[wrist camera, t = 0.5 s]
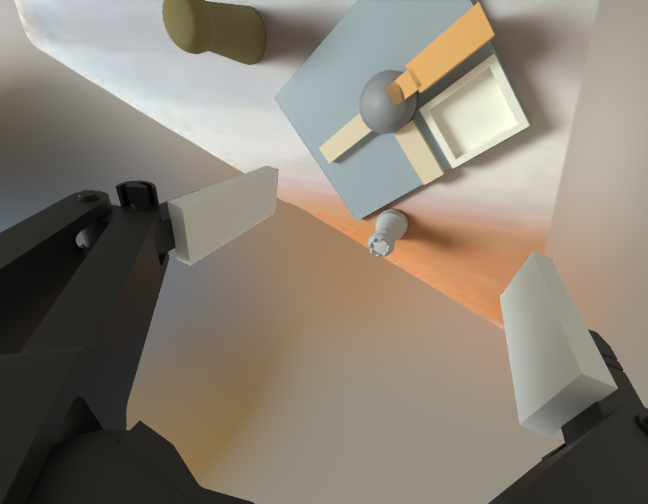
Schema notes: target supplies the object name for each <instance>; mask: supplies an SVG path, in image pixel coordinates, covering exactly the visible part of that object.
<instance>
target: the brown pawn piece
mask: <svg viewBox="0 0 648 504" xmlns="http://www.w3.org/2000/svg"><path fill="white" fill-rule="evenodd" d="M162 13H163V21H164V24H165V28H166V30H167V32H168V34H169V36H170V38H171V39H172V40H173V42H174V43H175V44H176V45H177V46H178V47H179V48H181V49H182V50H184V51H186V52H188V53H193V54H200V53H203V52H207V51H210V52H213V53H216V54H219V55H221V56H224V57H227V58H230V59H232V60H235V61H238V62H241V63H244V64H248V65H250V64H254V63H256V62H257V61H258V60H260V58H261V56H262V55H263V53H264V49H265V46H266V32H265V27H264V24H263V21H262V19H261V17H260V16H259V14H258V13H257V12H256V10H254V9H253V8H251V7H250V6H243V5H235V4H226V3H217V2H209V1H205V0H164V2H163V12H162Z"/></svg>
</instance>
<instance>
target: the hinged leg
mask: <svg viewBox="0 0 648 504" xmlns="http://www.w3.org/2000/svg"><path fill="white" fill-rule="evenodd" d="M494 35H495V34H494V32H493V30H492V28H491V26H490V24H489V22H488V20H487V18H486V16H485V14H484V12H483V9H482V7H481V5H480V3H479V2H477V3H476V4H475V5H474V6H473V7H472V8H471V9H469V10H468V11H467V12H466V13H465V14H464V15H463V16H461V17H460V18H459V19H458V20H457V21H456V22H455V23H453V24H452V25H451V26H450V27H449V28H448V29H447V30H445V31H444V32H443V33H442V34H441V35H440V36H439V37H437V38H436V39H435V40H434V41H433V42H432V43H431V44H429V45H428V46H427V47H426V48H425V49H424V50H423V51H421V52H420V53H419V54H418V55H417V56H416V57H415V58H413V59H412V60H411V61H410V62H409V63H408V64H407V65H405V67H406V68H407V70H406V71H405V72H404V73H403V74H402V75H401V76H399V77H398V78H397V79H396V80H391V79H381V80H378V81H376V82H374V83H373V84H371V85H370V86H369V87H368V89H367V90H366V92H365V94H364V96H363V100H362V111H363V115H364V117H365V119H366V120H367V121H368V122H369V123H370V124H371V125H373V126H375V127H378V128H384V127H388V126H390V125H392V124H394V123H396V122H397V121H398V120H399V119H400V118H401V117H402V115H403V114H404V112H405V109H406V105H407V99H408V98H409V97H410V96H412V95H413V94H414V93H415V92H417V91H418V90H419V92H420V93H423V92H424V91H426V90H427V89H428V88H430V87H431V86H432V85H434V84H435V83H436V82H437V81H439V80H440V79H441V78H443V77H444V76H445V75H446V74H448V73H449V72H450V71H452V70H453V69H454V68H455V67H457V66H458V65H459V64H461V63H462V62H463V61H464V60H466V59H467V58H468V57H470V56H471V55H472V54H473V53H475V52H476V51H477V50H479V49H480V48H481V47H483V46H484V45H485V44H486V43H488V42H489V41H490V40H492V39H493V37H494Z"/></svg>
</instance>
